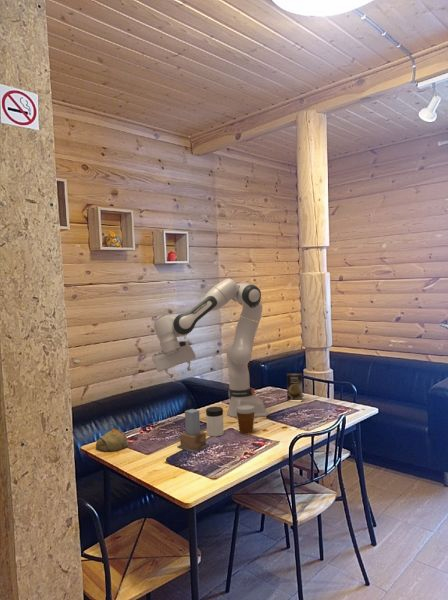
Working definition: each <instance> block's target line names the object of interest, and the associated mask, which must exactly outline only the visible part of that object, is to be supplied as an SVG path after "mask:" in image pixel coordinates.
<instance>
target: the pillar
mask: <svg viewBox="0 0 448 600" xmlns="http://www.w3.org/2000/svg"><path fill="white" fill-rule="evenodd" d="M184 421H185V422H184V423H185V424H184V425H185V432H186V434H189V435H192V436H193V435H196V434H198V433H200V431H201V423H200V421H201V420H200V410H198V409H195V408H191V409H187V410H185V411H184Z"/></svg>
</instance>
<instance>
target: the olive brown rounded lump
mask: <svg viewBox="0 0 448 600" xmlns="http://www.w3.org/2000/svg"><path fill="white" fill-rule="evenodd" d="M95 446H96V447H95V448H96V449H98V450H99V451H102V452H113V451H120V450H123V449H125V448H128V447H129V441H128V437H127V436H126V434H125V433H124V432H123V431H122V430H120V429H118V428H113V429H111V430H110V431H109V430H108V431H107V432H106V433H105V434H104V435H101V436H100V437H99V438H98V439H97V440H96V442H95Z"/></svg>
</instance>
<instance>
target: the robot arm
mask: <svg viewBox="0 0 448 600" xmlns="http://www.w3.org/2000/svg"><path fill="white" fill-rule="evenodd" d="M261 298H262V292H261V289H260V288H259V287H258V286H257V285H254V284H250V283H247V282H236V281H235V280H234V279H232V278H226V279H224V280H222V281H220V282H218V283H216V284H215V285H214V286H213V287H211V288H210V289H209V291H207V292H206V294H205V295H204V296H203V298H202V300H201V302H199V303H198V304H197V305H195V306H194V307H193V308H192V309H191V310H189V311H187V312H183V313H180V314H178V315H177V316H169V315H166V314H165V315H162V316H159V318H157V319H156V320H155V321H154V323H153V326H154V327H153V328H154V331H155V334H156V338H157V339H158V341H159V345H160V348H161V351H159V352H156V353H154V354H153V355H152V357H151V358H152V359H151V360H152V362H153V363H154V364H155V368H156V371H157V372H158V373H161V372H163V371H164V372H165V373H166V374H167V375H168V377H169V378H170V379H172V378H173V377H174V376H173V374H172V373H169V369H171V368H174V367H177V366H179V365H182V364H185V363H187V364H188V365H187V367H186V369H187V372H189V371H191V361H192V360H194V359H196V357H197V356H196V354H195V351H194V349H193V348H192V347H191V346H190V345H189V342H188V341H187V340H181V341H179V340H178V337H179V338H180V337H185V336H187V335H188V334H190V333H191V332H192V331H193V330H194V329H195V327H196V324H197V323H198V322H199V321H200V320H201V319H202V318H203V317H204V316H206V315H207V314H208V313H210V312H212V311H213V312H214V311H218V310H219V309H221V308H223V307H225V305H227V304H228V303H229V302H230V301H234V302H237V303H239V304H241V305H242V308H241V312H240V316H239V318H238V321H237V323H236V327H235V331H234V332H235V333H234V339H233V341H232V342H230V343H229V344H228V345H227V346H226V361H227V369H228V381H229V383H228V384H229V388H228V399H229V402H228V403H229V404H228V409H227V416H230V417H233V418H237V419H238V417H237V412H236V408H237V406H239V405H253V406H254V408H255V412H254V418H261V417H267V416H268V415H269V414H270V412H269V410H268V408H266V407H265V404H264V401H263V400H262V399H261V398H259V397H258V396H256V395H255V393H256V391H255V389H254V388H253V387H251V386H250V384H251V383H250V372H249V367H248V364H249V363H250V361H251V360H252V354H253V353H252V352H253V348H254V341H255V336H256V334H257V333H256V332H257V331H258V330H257V329H258V327H259V325H260V322H261V317H262V313H263V304H262V303H261Z"/></svg>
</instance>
